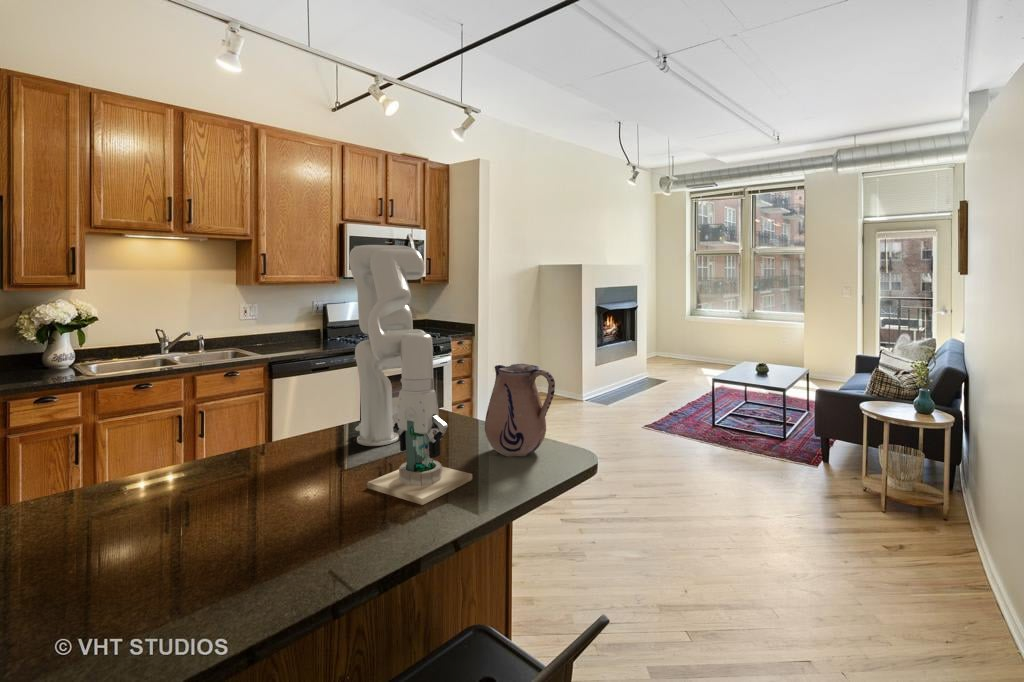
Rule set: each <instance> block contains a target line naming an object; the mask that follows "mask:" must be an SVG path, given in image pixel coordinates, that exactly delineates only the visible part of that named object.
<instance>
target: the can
mask: <svg viewBox="0 0 1024 682" xmlns="http://www.w3.org/2000/svg"><path fill="white" fill-rule="evenodd" d="M429 442H431V440H430V438H429V437H428V435H427V434H418V433H415V432H414V422H412V421H407V431H406V450H405V455H406V462H407V470H408V471H411V472H424V471H429V470H432V469H433V460H434V458H433V459H432V458H430V457H429Z"/></svg>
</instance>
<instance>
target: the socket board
mask: <svg viewBox="0 0 1024 682" xmlns="http://www.w3.org/2000/svg"><path fill="white" fill-rule="evenodd" d="M472 480H473V474H472V473H469V472H465V471H462V470H457V469H453V468H449V467H447V466H446V467H445V466H443V465H442V464H441V463H440V462H439V461H438V460H434V459H433V469H432V470H429V471H424V472H411V471H408V470H407V461H405V462H403V463H401V465H400V466H399V468H398V469H396V470H394V471H391V472H389V473H386V474H384V475H382V476H379V477H376V478H375V479H372V480H369V481H367V489H370V490H371V491H375V492H379V493H382V494H385V495H389V496H392V497H395V498H399V499H402V500H405V501H408V502H410V503H415V504H416V505H417V504H418V505H421V506H424V505H426V504H428V503H429V502H432V501H434V500H436V499H437V498H439V497H441V496H444V495H445V494H447V493H449V492H452V491H454V490H455V489H457V488H460V487H461V486H463V485H466V484H467V483H468V482H471V481H472Z"/></svg>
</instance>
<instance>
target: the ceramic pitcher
mask: <svg viewBox="0 0 1024 682" xmlns="http://www.w3.org/2000/svg"><path fill="white" fill-rule="evenodd" d="M494 371H495V379H494V386H493V388H492V391H491V395H490V399H489V402H488V406H487V409H486V410H487V411H486V415H485V421H484V432H485V436H486V439H487V441H488V443H489V445H490V446H491V447H492V448H493V450H494V451H496V452H497V453H499V454H500V455H502V456H505V457H526V456H527V455H530V454H532V453H535V451H536V450H538V448H539V447H540V446H541V445H542V443H543V441H544V439H545V437H546V434H547V432H546V431H547V421H546V420H547V419H546V416H547V413H548V410H549V409H550V406H551V405H552V401H553V399H554V396H555V390H556V387H555V386H556V382H555V379H554V377H553V376H552V374H551V373H550V372H549V371H547V370H544V369H543V370H542V369H540V367H539V366H538V365H534V364H527V363H516V364H515V363H513V364H510V365H509V366H506V365H502V364H497V365H495V366H494ZM540 376H543V377H544V378H545V379H546V381H547V383H548V388H547V394H546V397H545V399H544V402H542V400H541V397H540V394H539V391H538V389H537V388H538V387H537V384H536V379H537V378H538V377H540Z"/></svg>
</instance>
